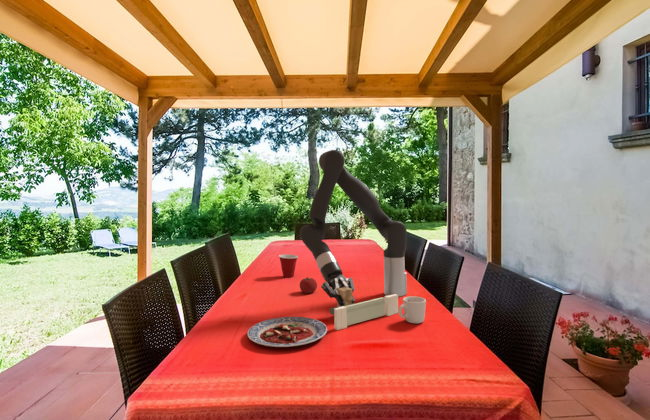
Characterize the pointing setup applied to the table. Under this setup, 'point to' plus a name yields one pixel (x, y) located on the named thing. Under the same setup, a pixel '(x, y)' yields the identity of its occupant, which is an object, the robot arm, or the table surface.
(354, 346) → the table surface
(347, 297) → the wooden block on base
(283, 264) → the plastic cup
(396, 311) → the wooden blocks
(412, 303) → the cup
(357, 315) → the gate
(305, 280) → the tomato
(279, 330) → the ceramic plate
